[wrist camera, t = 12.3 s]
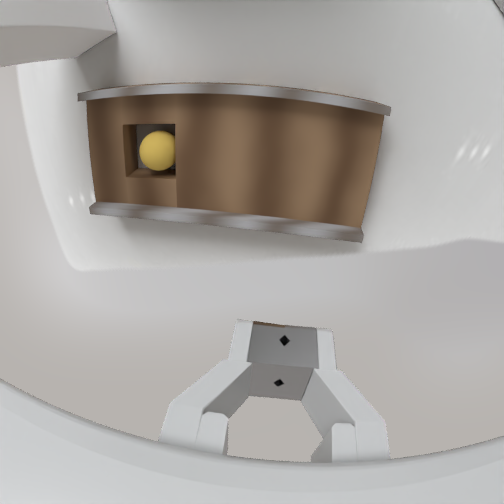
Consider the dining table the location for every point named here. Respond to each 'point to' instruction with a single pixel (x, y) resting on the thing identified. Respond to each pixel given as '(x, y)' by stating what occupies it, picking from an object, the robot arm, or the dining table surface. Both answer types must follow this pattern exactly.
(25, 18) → the milk
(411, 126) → the dining table surface
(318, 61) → the dining table surface
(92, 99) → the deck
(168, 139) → the ball
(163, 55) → the dining table surface
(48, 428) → the robot arm
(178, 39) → the dining table surface
